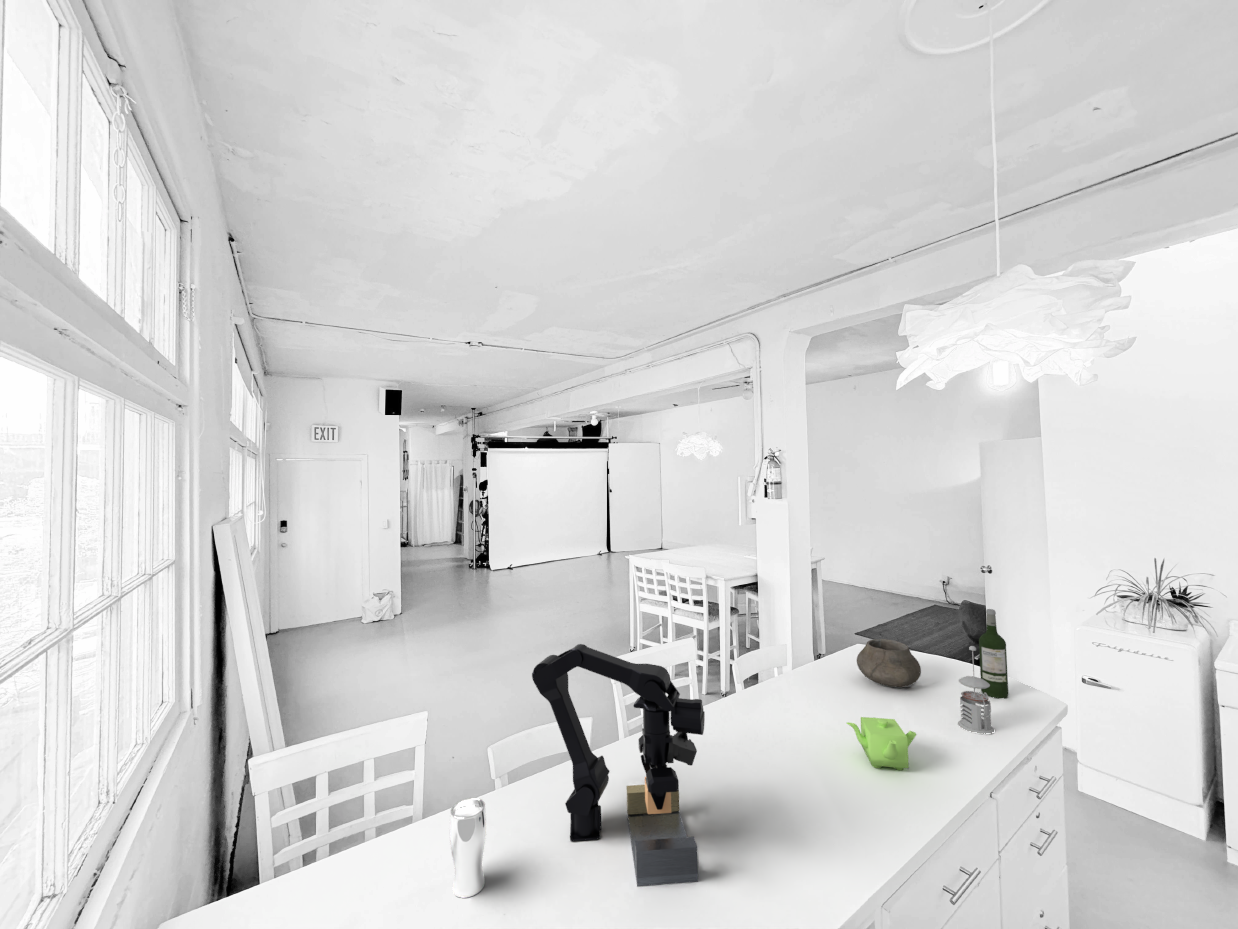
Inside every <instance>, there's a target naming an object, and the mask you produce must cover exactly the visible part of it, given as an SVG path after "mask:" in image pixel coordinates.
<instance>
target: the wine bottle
mask: <svg viewBox="0 0 1238 929" xmlns="http://www.w3.org/2000/svg"><path fill="white" fill-rule="evenodd" d="M985 613H986V631H985V632H984V633H983V634H982V635H980V637H979V638H978V648H979V670H980V671H979V672H980V673H979V674H980V678H981V679H983V680H985V681H986V682H988V683H989V684H990V686H989V687H988V688H986V689H980V691H981V694H982V693H983V694H984V693H986V694H987V695H988V697H989V698H993V697H994V699H999V698H1004V699H1007V698H1009V680H1008V678H1009V677H1008V659H1007V642H1006V640H1005V639H1004V638H1003V637H1002V636H1001V635H1000V634H999V633H998V628H997V619H996V614H997V613H996V610H995V609H992V608H987V609H986V610H985ZM986 694H985V695H986ZM987 695H986V696H987Z"/></svg>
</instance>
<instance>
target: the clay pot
mask: <svg viewBox="0 0 1238 929" xmlns="http://www.w3.org/2000/svg"><path fill="white" fill-rule="evenodd" d="M856 665H857V668H858V669H859V671H860V672H861V674H863V675H864V677H865V678H867V679H868V680H870V681H871V682H873V683H876V684H878V685H881V686H884V687H887V688H888V687H890V688H904V687H909V686H912V685H913V684H915V683H917V681H918V680H919V679H920V677H921V674H922V666H921V665H920V662H919V661H918V659H917V658H916V657H915V656H914V655H913V654H912V652H911V650H910V648H909V646H908V645H907V644H905V643H903V642H899V641H897V640H893V639H886V638H877V639H876V638H875V639H874V638H873V639H869V640H868V641H867V642H866V643H865V645H864V647H863V648H862V649H861V650H860V652H858V654H857V657H856Z"/></svg>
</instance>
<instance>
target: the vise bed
mask: <svg viewBox="0 0 1238 929" xmlns="http://www.w3.org/2000/svg"><path fill="white" fill-rule="evenodd" d="M626 815H627V824H628V831H629V836H630V837H629V838H630V845H631V851H632V852H631V853H632V861H633V867H634V868H633V869H634V873H635V880H636V882H635V883H636V887H645V886H646V887H648V886H659V885H670V884H671V885H672V884H684V883H697V882H699V868H698V863H699V862H698V861H699V860H698V846H697V842H696V839H695V836H687V832H686V830H685V826H684V823H683V819H682V816H681V812H680V810H679V811H673V812H671V813H661V814H648V813H643V814H628V811H627V810H626Z"/></svg>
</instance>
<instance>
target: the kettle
mask: <svg viewBox="0 0 1238 929" xmlns="http://www.w3.org/2000/svg"><path fill="white" fill-rule="evenodd" d="M846 724H847V725H849V726H850V727H852V729H853V731H854V732H855V735H856V739H857V742H859V744H860V745H861V747H862V749H863V751H864V753H865V755H866V757H867V759H868V761H869V763H870V765H871V766H872V767H873V768H875V769H881V768H882V767H887V768H894V769H895V770H897V771H903V770H904V769H909V767H910V766H909V747H910V745H911V743H912V742H913V740H914V739H915V738H916V736H917V733H916V732H915V731H913V730H909V731H908V732H907V733H905V732H904V730H903V728H901V726H900V725H899V723H898V722H897V721H896V720H895V719H894V718H882V717H866V716H863V717H862V716H860V729H859V726H858V725H857V724H856V723H853V722H850V721H849V722H846Z"/></svg>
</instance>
